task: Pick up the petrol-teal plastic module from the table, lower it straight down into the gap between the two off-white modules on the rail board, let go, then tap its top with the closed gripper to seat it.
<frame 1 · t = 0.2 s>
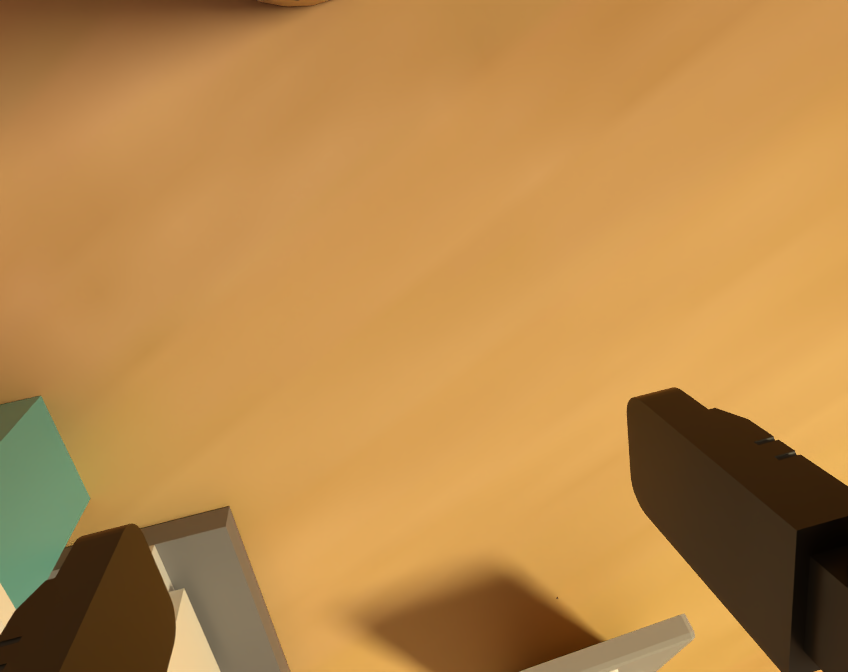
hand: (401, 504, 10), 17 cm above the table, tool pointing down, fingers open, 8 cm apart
light switch: (560, 618, 37), on the table
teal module: (13, 461, 26), on the table
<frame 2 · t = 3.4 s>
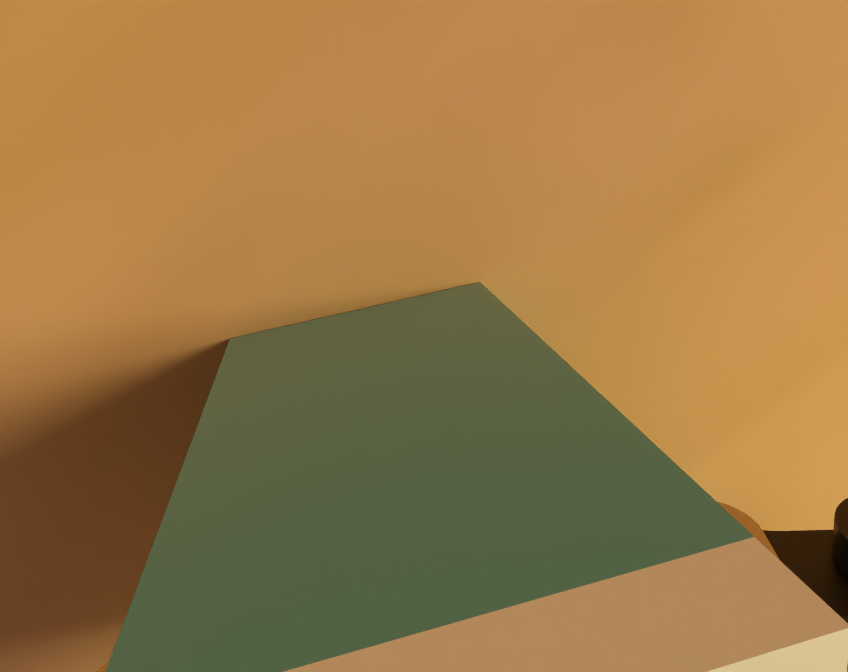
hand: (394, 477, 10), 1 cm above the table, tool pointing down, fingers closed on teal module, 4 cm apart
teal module: (388, 442, 12), on the table, touching gripper
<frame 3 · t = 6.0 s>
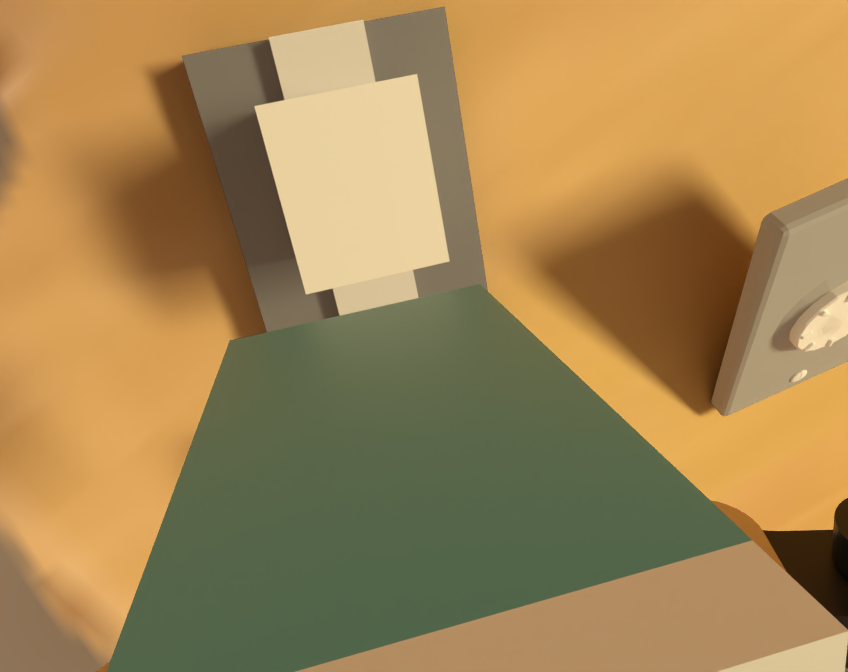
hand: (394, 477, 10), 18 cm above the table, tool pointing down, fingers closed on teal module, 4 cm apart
light switch: (759, 276, 32), on the table
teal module: (388, 444, 12), point 17 cm above the table, touching gripper
rail board: (374, 293, 28), on the table
when the fingers open (5 cm above the table, at t = 8.7 s): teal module drops 1 cm, resting on rail board.
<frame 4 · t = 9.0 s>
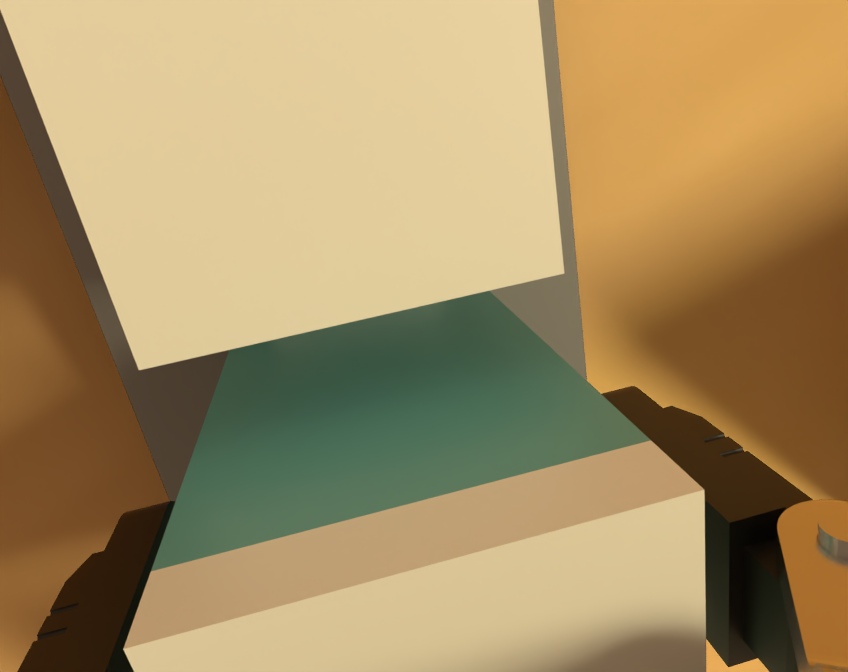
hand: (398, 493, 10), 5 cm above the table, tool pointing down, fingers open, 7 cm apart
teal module: (382, 411, 13), point 2 cm above the table, touching rail board
rail board: (360, 335, 15), on the table
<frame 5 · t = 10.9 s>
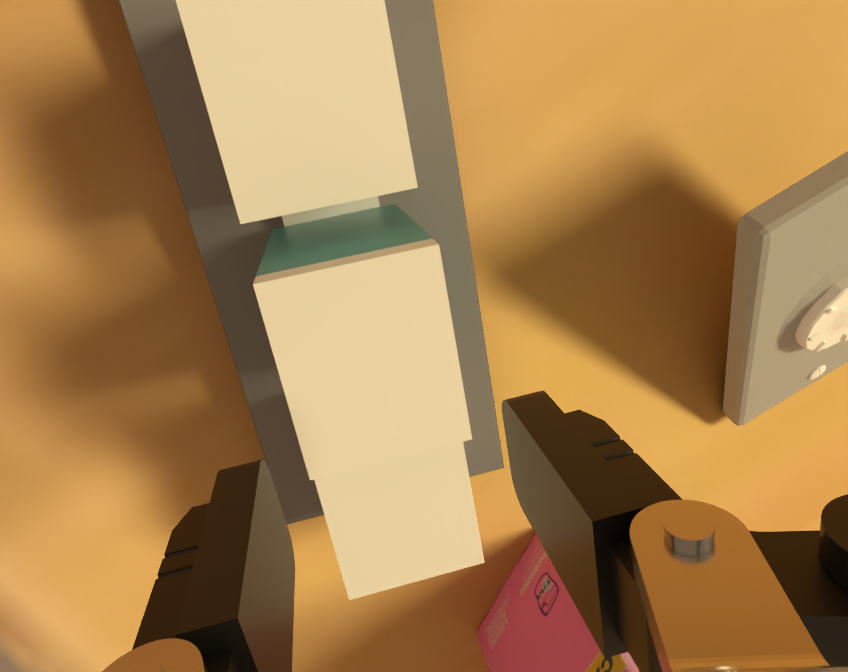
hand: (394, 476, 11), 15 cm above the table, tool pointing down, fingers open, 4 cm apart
light switch: (757, 268, 28), on the table
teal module: (351, 288, 23), point 2 cm above the table, touching rail board
gum box: (665, 623, 35), on the table
rail board: (340, 250, 24), on the table
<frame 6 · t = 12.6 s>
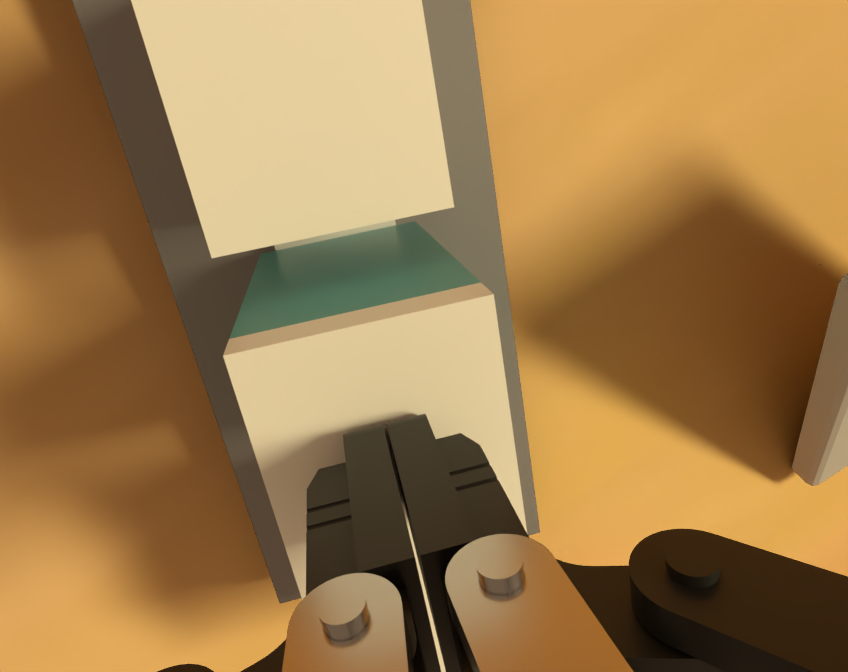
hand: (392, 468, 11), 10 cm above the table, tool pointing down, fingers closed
light switch: (830, 304, 24), on the table
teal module: (359, 325, 18), point 2 cm above the table, touching gripper, rail board
rail board: (345, 276, 20), on the table
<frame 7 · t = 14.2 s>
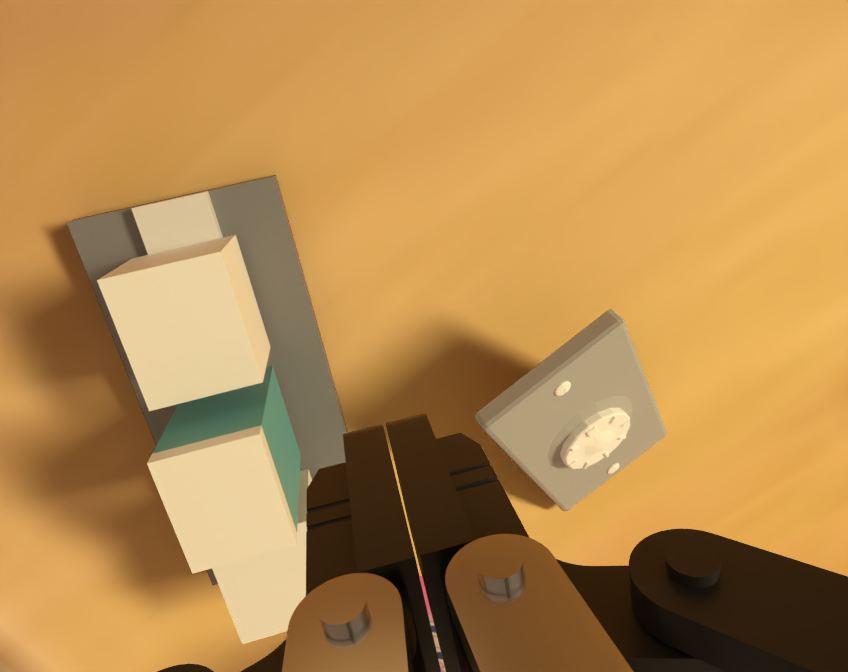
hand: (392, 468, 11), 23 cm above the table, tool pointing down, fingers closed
light switch: (556, 397, 38), on the table
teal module: (245, 422, 32), point 2 cm above the table, touching rail board
gum box: (532, 646, 44), on the table
rail board: (243, 389, 34), on the table
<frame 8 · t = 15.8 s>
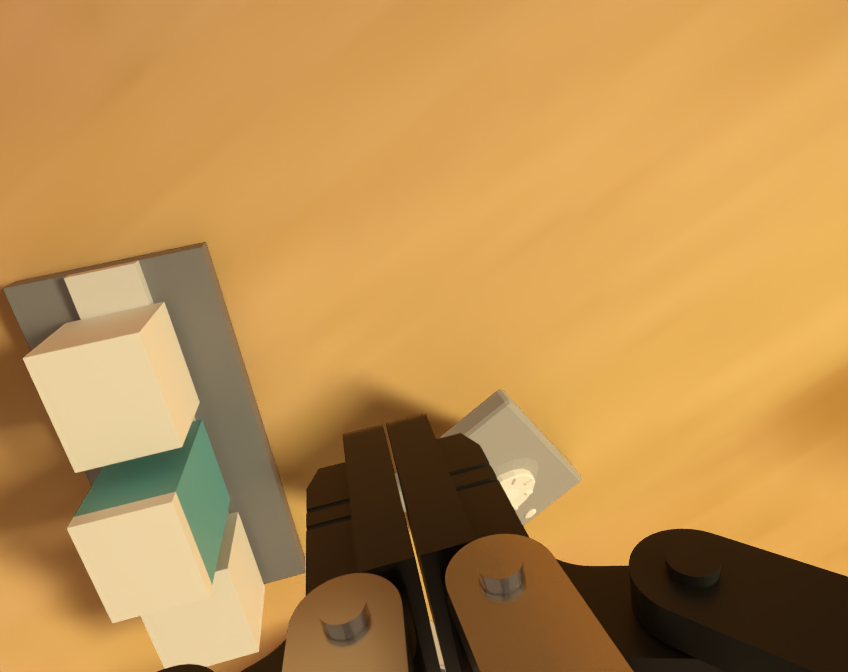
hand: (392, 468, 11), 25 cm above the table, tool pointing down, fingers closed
light switch: (476, 449, 41), on the table
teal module: (177, 469, 35), point 2 cm above the table, touching rail board
rail board: (178, 436, 36), on the table
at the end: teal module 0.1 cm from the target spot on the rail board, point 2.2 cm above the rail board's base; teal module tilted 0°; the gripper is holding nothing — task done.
